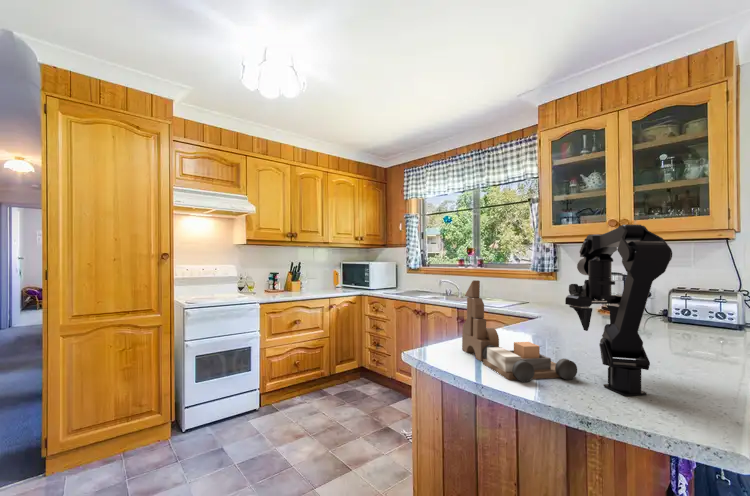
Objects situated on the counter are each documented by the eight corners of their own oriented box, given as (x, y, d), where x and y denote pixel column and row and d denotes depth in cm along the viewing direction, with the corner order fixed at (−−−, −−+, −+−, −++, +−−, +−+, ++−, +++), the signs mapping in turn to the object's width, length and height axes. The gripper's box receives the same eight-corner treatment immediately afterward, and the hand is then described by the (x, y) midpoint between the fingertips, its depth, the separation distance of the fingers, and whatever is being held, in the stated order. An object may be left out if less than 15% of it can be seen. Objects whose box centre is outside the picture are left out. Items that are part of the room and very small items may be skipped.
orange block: (539, 367, 100) (539, 346, 100) (523, 367, 99) (523, 346, 99) (528, 361, 105) (528, 341, 105) (513, 362, 104) (513, 342, 104)
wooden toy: (500, 361, 110) (501, 282, 111) (480, 361, 109) (481, 282, 110) (477, 348, 126) (478, 278, 126) (459, 348, 124) (460, 278, 125)
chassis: (580, 379, 95) (580, 359, 95) (513, 382, 91) (513, 361, 91) (536, 359, 113) (536, 342, 113) (479, 361, 109) (479, 344, 109)
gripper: (604, 275, 112) (603, 324, 112) (552, 275, 109) (552, 325, 108) (636, 278, 101) (635, 331, 101) (580, 277, 98) (579, 333, 97)
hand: (599, 330), depth 102 cm, fingers open, 9 cm apart
